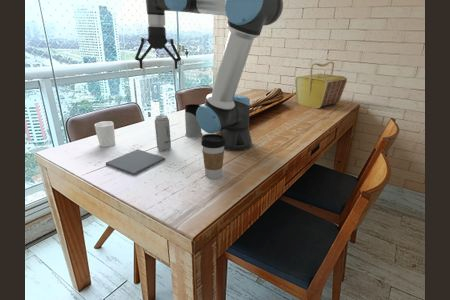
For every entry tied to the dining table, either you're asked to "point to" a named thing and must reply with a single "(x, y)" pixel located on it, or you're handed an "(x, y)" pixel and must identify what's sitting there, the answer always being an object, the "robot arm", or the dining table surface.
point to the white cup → (105, 133)
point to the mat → (135, 161)
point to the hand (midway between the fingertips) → (159, 76)
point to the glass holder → (192, 121)
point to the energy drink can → (162, 133)
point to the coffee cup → (213, 154)
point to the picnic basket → (319, 88)
